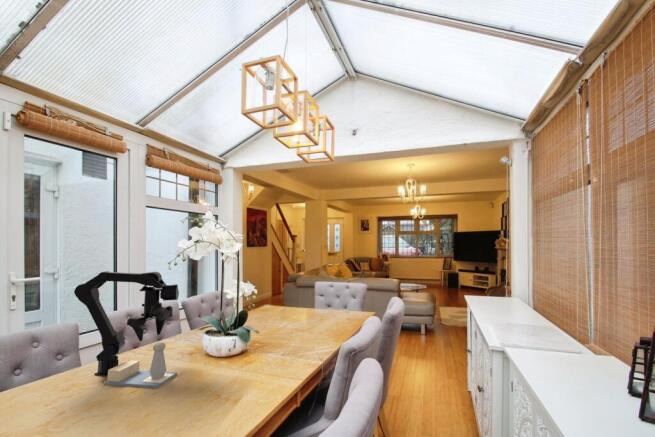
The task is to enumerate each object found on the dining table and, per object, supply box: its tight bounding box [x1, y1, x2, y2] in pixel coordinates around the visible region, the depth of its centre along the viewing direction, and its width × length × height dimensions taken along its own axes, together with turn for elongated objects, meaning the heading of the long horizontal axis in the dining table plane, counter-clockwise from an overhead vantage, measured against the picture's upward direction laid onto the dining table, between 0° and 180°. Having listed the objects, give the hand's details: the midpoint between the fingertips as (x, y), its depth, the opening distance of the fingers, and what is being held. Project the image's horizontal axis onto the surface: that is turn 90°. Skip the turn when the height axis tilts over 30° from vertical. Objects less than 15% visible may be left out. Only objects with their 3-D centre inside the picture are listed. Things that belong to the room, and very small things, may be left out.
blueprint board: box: [103, 359, 178, 389], centre depth 122 cm, size 22×12×5 cm, turn 82°
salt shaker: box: [149, 342, 167, 380], centre depth 121 cm, size 6×6×13 cm
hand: (150, 337), depth 133 cm, fingers open, 9 cm apart
